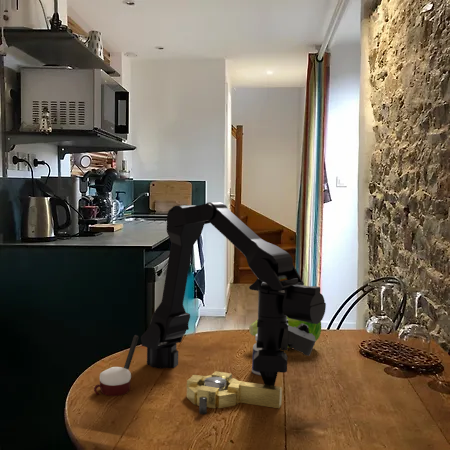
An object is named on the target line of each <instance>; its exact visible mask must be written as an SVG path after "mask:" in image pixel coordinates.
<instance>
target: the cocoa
mask: <svg viewBox="0 0 450 450" xmlns="http://www.w3.org/2000/svg"><path fill="white" fill-rule="evenodd" d="M138 341H139V335H137V334H135V335H134V336H133V338H132V342H131V343H130V347H129V350H128V353H127V354H128V355H127V357H126V359H125V363H124V365H123V367H121V366H112V367H109V368H107V369H105V370H103V371H101V372H100V373H99V384H96V385H95V386H94V388H93V390H94V393H95V394H96V395H98V396H99V395H100V396H101V393H102V394H103V395H105V396H109V397H110V396H112V397H115V396H117V397H118V396H122V395H124V394H127V393H128V392H129V391H130V390H131V389H130V388H131V382H132V381H131V378H132V374H131V371H130V365H131V363H132V360H133V357H134V354H135V351H136V347H137V344H138ZM98 388H100V393H98V391H97V389H98Z"/></svg>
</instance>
